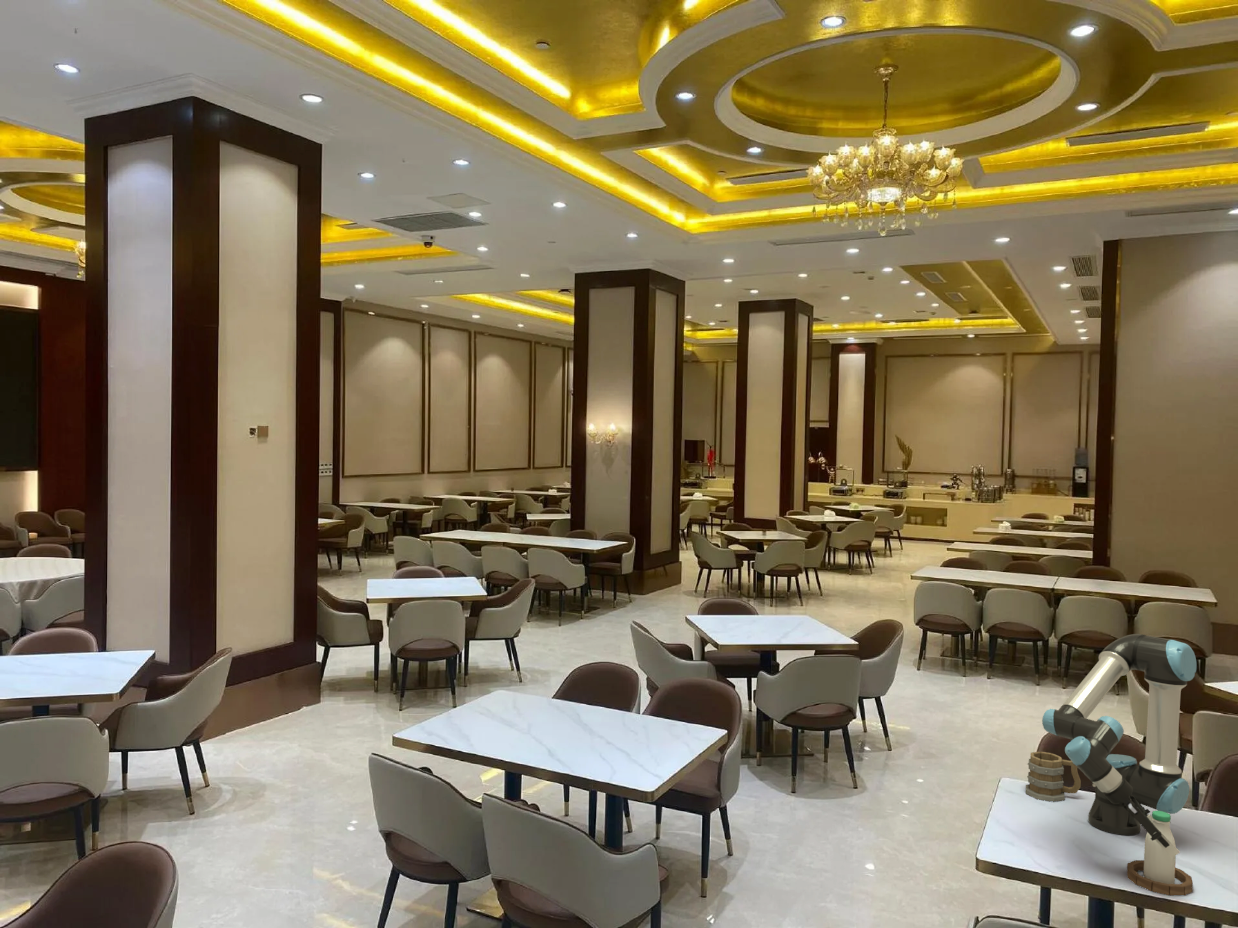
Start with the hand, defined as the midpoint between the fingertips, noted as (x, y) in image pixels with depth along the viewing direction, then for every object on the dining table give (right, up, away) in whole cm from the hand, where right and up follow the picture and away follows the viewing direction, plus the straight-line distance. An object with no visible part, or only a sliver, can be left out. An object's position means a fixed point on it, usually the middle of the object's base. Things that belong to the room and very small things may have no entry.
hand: (1169, 844), depth 257 cm
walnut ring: (-2, -11, +1) cm, 11 cm away
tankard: (-1, -10, +64) cm, 65 cm away
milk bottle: (-3, -11, +1) cm, 12 cm away
